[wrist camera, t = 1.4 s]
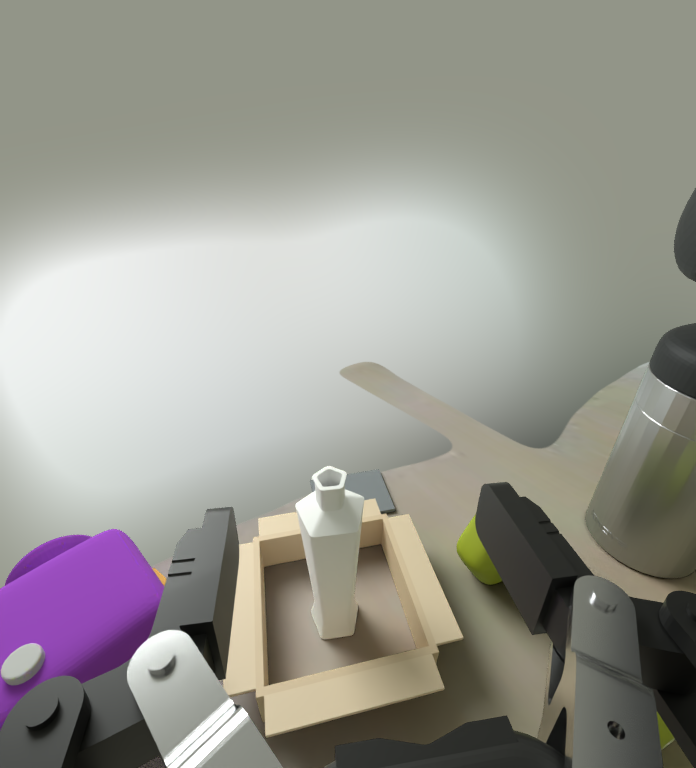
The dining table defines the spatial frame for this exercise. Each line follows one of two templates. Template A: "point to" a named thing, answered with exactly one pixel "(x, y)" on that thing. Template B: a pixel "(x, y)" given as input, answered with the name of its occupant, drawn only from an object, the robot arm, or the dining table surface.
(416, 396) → the dining table surface
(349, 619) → the white vase
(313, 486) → the mat
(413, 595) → the carton
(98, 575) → the toy camera
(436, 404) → the dining table surface
